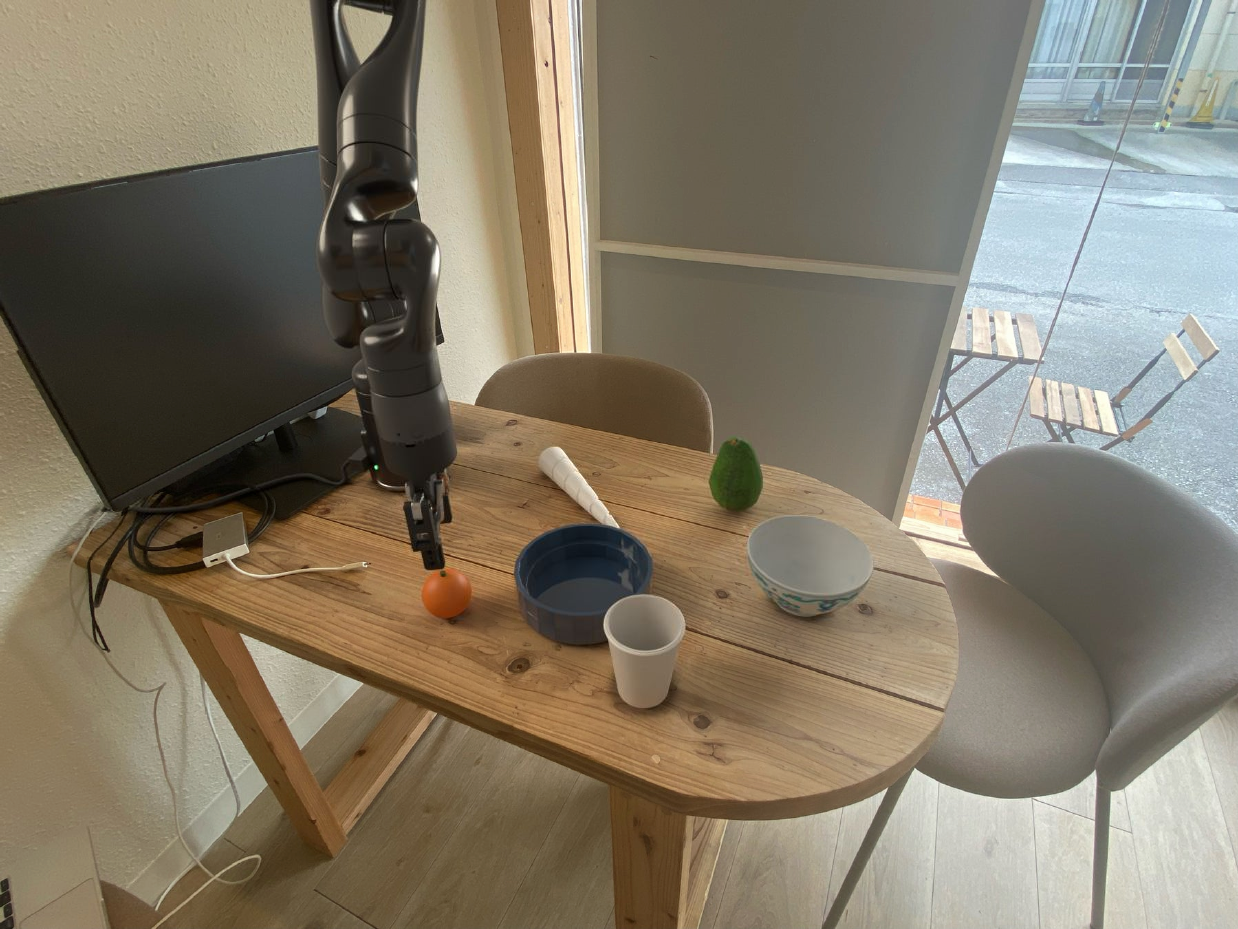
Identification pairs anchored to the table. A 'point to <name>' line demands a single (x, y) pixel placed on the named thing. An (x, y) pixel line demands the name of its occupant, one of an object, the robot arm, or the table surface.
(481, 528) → the table surface
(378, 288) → the robot arm
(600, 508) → the unicorn horn
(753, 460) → the avocado
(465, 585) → the mandarin
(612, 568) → the bowl
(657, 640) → the dixie cup
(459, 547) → the table surface
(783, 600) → the chinaware
